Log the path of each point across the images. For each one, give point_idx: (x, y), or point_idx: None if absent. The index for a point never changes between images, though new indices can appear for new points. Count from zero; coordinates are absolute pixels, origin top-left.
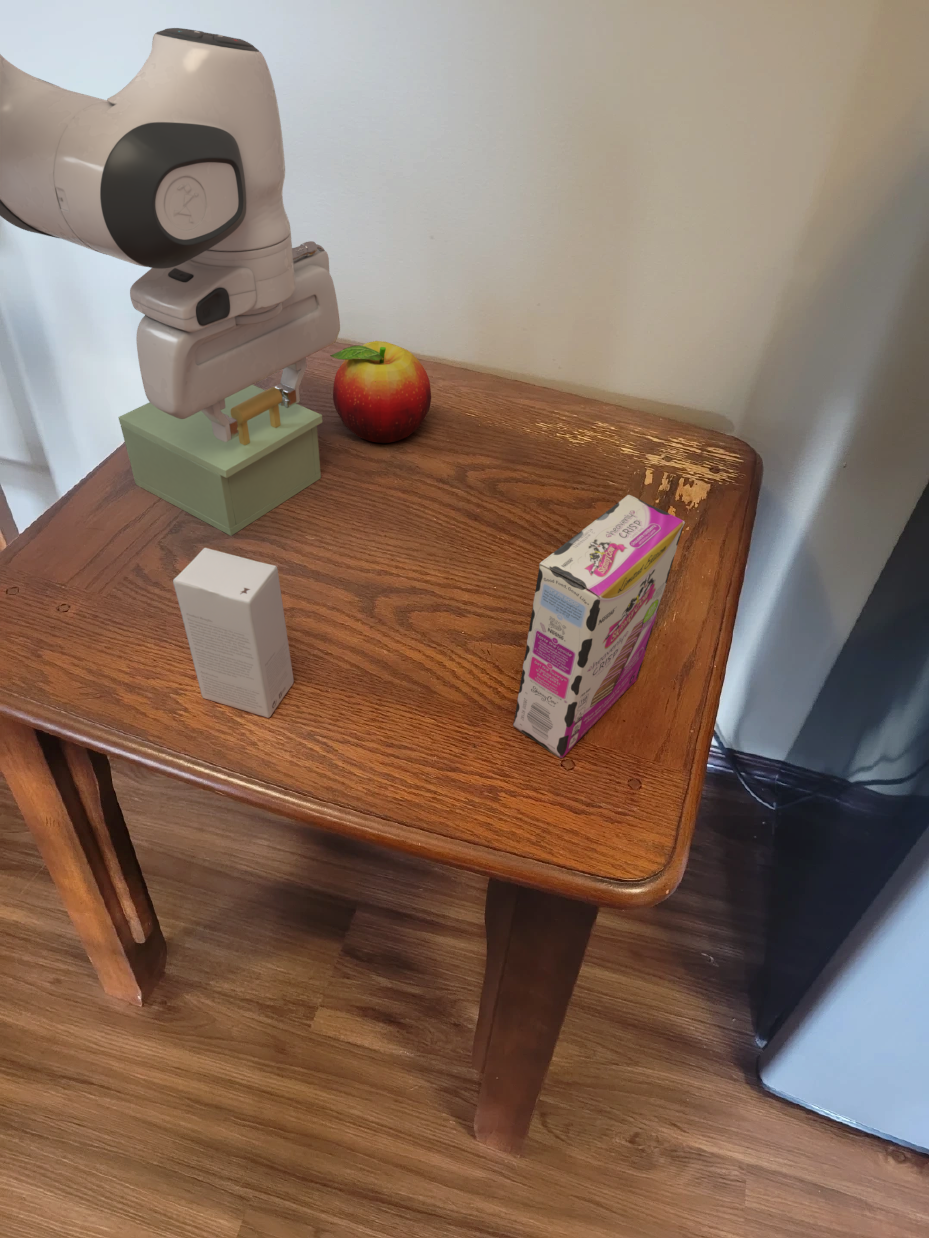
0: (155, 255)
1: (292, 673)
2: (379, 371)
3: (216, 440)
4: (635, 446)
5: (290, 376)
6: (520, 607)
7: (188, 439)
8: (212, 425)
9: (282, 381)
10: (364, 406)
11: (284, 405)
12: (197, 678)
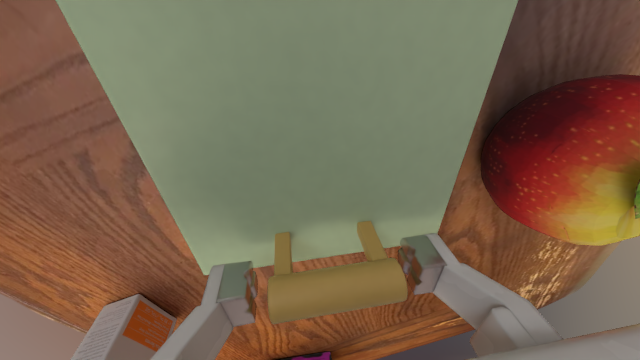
0: None
1: (173, 328)
2: (593, 236)
3: (244, 204)
4: (541, 276)
5: (462, 300)
6: (337, 326)
7: (189, 165)
8: (205, 291)
9: (448, 274)
10: (514, 199)
11: (401, 250)
12: (90, 328)
